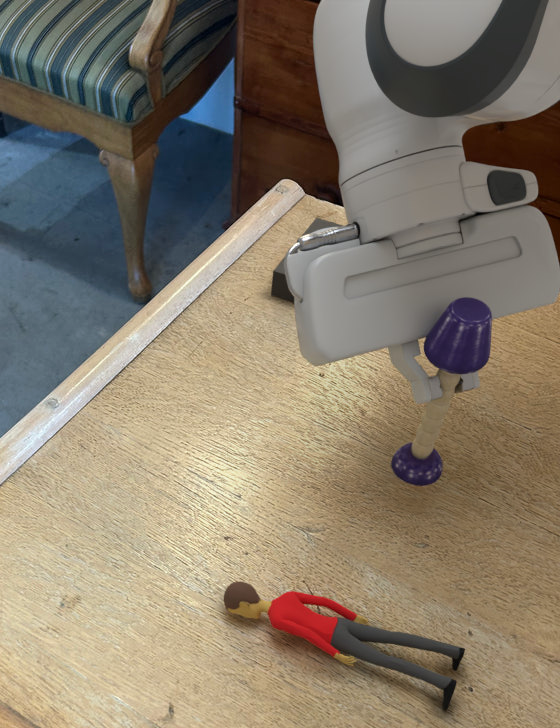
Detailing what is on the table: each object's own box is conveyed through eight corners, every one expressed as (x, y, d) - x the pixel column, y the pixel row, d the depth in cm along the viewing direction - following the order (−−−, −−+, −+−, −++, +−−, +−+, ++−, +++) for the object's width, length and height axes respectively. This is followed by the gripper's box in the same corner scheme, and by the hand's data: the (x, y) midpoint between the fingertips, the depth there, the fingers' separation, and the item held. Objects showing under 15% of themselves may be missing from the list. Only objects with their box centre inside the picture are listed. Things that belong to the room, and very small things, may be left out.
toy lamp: (456, 480, 74) (519, 317, 60) (409, 499, 72) (463, 336, 59) (422, 443, 76) (475, 278, 63) (376, 460, 75) (420, 296, 62)
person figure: (450, 678, 68) (228, 604, 72) (466, 636, 66) (237, 563, 71) (445, 717, 64) (209, 635, 68) (462, 673, 62) (218, 592, 66)
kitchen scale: (408, 270, 97) (415, 241, 94) (370, 327, 91) (376, 298, 88) (313, 241, 100) (317, 212, 97) (270, 294, 94) (273, 265, 92)
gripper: (293, 230, 60) (339, 430, 62) (555, 169, 64) (591, 359, 66) (263, 251, 66) (305, 432, 68) (503, 193, 70) (537, 367, 72)
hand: (448, 396), depth 67 cm, fingers closed on toy lamp
